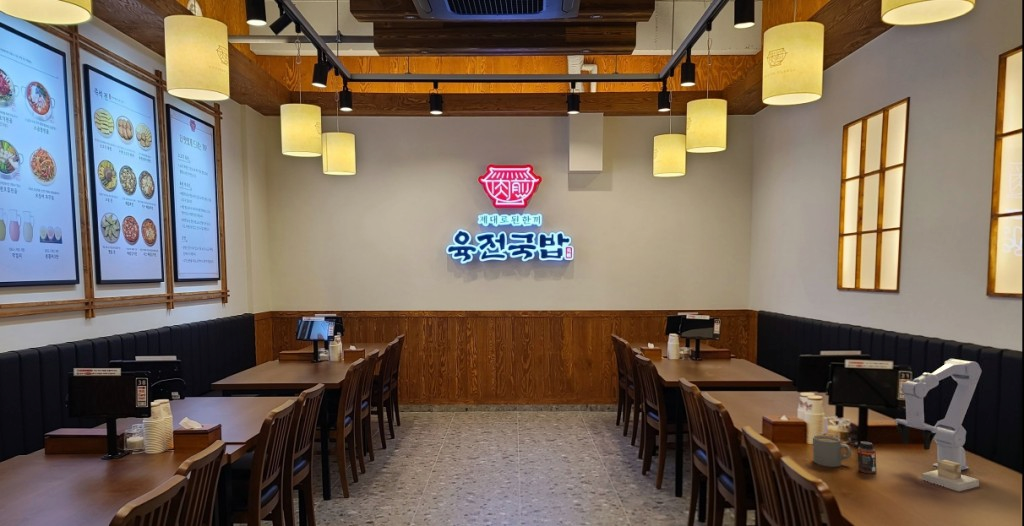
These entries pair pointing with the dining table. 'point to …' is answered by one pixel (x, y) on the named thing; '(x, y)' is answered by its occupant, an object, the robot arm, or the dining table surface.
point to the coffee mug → (829, 451)
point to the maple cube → (949, 469)
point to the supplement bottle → (866, 458)
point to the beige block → (951, 481)
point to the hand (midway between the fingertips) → (916, 446)
